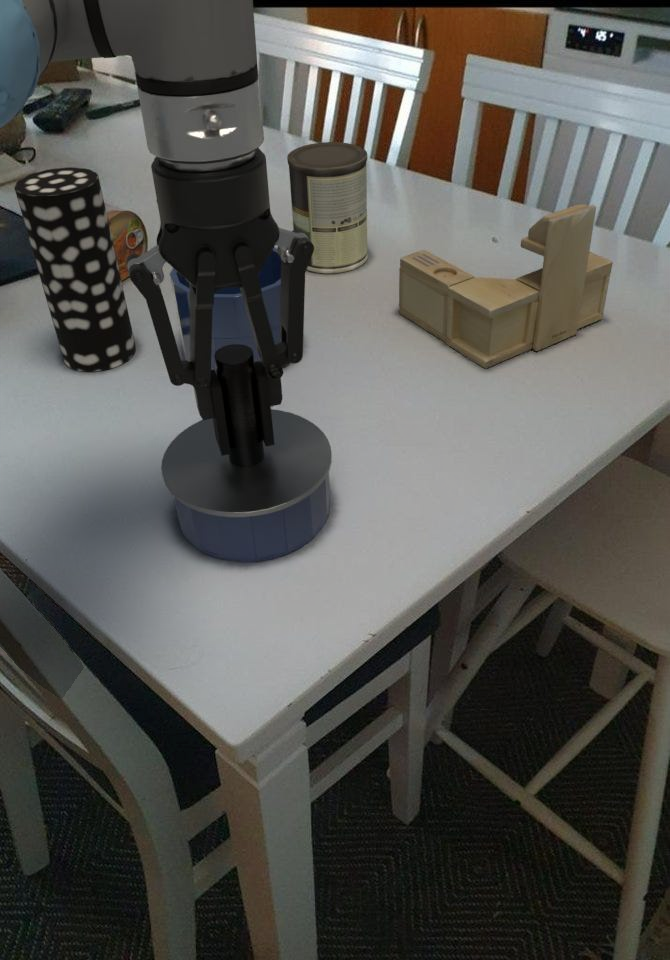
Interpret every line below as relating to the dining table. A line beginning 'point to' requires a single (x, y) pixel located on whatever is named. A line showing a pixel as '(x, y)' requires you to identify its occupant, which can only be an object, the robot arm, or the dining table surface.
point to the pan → (257, 529)
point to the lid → (245, 451)
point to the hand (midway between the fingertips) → (244, 440)
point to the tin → (127, 237)
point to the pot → (232, 310)
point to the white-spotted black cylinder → (77, 266)
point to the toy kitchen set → (511, 293)
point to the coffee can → (331, 203)
